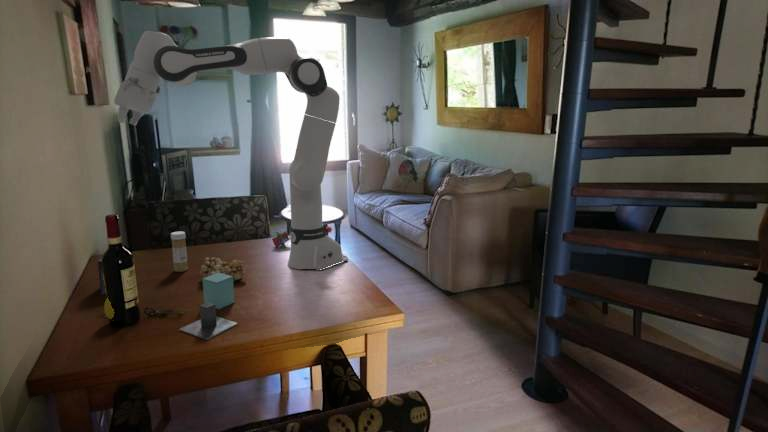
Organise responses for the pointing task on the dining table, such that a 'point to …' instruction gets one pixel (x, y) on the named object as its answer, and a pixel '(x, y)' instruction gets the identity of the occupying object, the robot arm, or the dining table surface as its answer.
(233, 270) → the mineral formation
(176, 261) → the sprinkles bottle
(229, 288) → the tall teal block
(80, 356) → the dining table surface
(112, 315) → the lemon
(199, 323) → the post
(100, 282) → the box
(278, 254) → the dining table surface
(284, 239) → the geometric puzzle
